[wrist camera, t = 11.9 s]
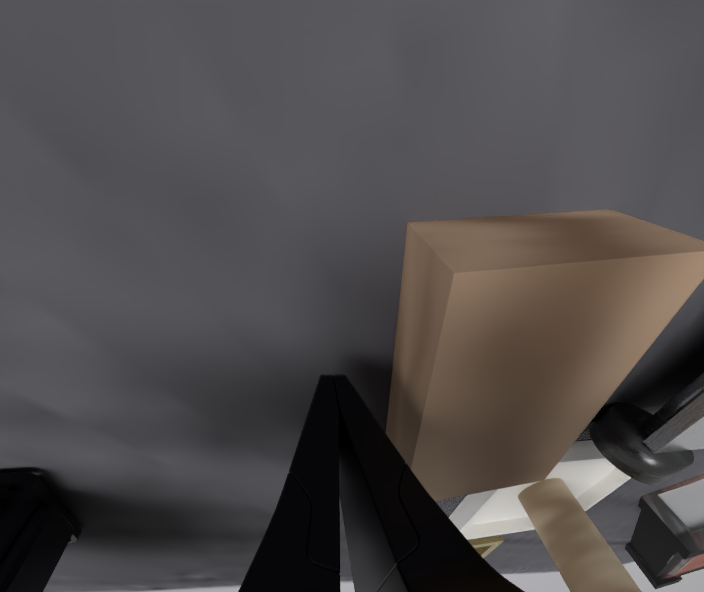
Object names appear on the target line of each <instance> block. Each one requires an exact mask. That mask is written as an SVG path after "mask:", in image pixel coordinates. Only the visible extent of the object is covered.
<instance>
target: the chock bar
mask: <svg viewBox="0 0 704 592" xmlns="http://www.w3.org/2000/svg"><path fill="white" fill-rule="evenodd" d="M703 279H704V241H702V240H699V239H696V238H693V237H690V236H687V235H684V234H681V233H678V232H675V231H672V230H670V229H667V228H664V227H661V226H658V225H655V224H652V223H649V222H646V221H643V220H640V219H637V218H634V217H631V216H628V215H625V214H622V213H620V212H617V211H614V210H611V209H608V210H593V211H577V212H562V213H546V214H531V215H516V216H500V217H485V218H469V219H454V220H438V221H423V222H408V223H407V232H406V242H405V252H404V261H403V271H402V281H401V291H400V300H399V310H398V320H397V329H396V339H395V349H394V358H393V368H392V378H391V388H390V397H389V407H388V417H387V426H386V434H387V436H388V437H389V439H390V440H391V441H392V443H393V444H394V446H395V447H396V449H397V450H398V452H399V453H400V454H401V456H402V457H403V459H404V460H405V464H408V466H409V467H410V469H411V470H412V472H413V473H414V474H415V476H416V477H417V479H418V480H419V481H420V483H421V484H422V485H423V487H424V488H425V489H426V491H427V492H428V493H429V495H430V496H431V497H432V498H433V499H434V501H439V500H444V499H449V498H455V497H460V496H465V495H470V494H475V493H481V492H486V491H491V490H496V489H501V488H507V487H512V486H517V485H522V484H527V483H533V482H538V481H543V480H545V479H546V477H547V476H548V475H549V473H550V472H551V471H552V470H553V468H554V467H555V466H556V465H557V463H558V462H559V461H560V460H561V458H562V457H563V456H564V454H565V453H566V452H567V451H568V449H569V448H570V447H571V446H572V444H573V443H574V442H575V441H576V439H577V438H578V437H579V436H580V434H581V433H582V432H583V430H584V429H585V428H586V427H587V425H588V424H589V423H590V422H591V420H592V419H593V418H594V417H595V415H596V414H597V413H598V411H599V410H600V409H601V408H602V406H603V405H604V404H605V403H606V401H607V400H608V399H609V398H610V396H611V395H612V394H613V392H614V391H615V390H616V389H617V387H618V386H619V385H620V384H621V382H622V381H623V380H624V379H625V377H626V376H627V375H628V374H629V372H630V371H631V370H632V368H633V367H634V366H635V365H636V363H637V362H638V361H639V360H640V358H641V357H642V356H643V355H644V353H645V352H646V351H647V349H648V348H649V347H650V346H651V344H652V343H653V342H654V341H655V339H656V338H657V337H658V336H659V334H660V333H661V332H662V330H663V329H664V328H665V327H666V325H667V324H668V323H669V322H670V320H671V319H672V318H673V317H674V315H675V314H676V313H677V312H678V310H679V309H680V308H681V306H682V305H683V304H684V303H685V301H686V300H687V299H688V298H689V296H690V295H691V294H692V293H693V291H694V290H695V289H696V287H697V286H698V285H699V284H700V282H701V281H702V280H703Z"/></svg>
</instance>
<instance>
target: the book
mask: <svg viewBox="0 0 704 592" xmlns="http://www.w3.org/2000/svg"><path fill="white" fill-rule="evenodd" d="M638 506H639V507H640V508H641V509H642V510H641V513H640V516H639V518H638V521H637V524H636V527H635V530H634V533H633V536H632V539H631V542H630V543H627V544H626V547H625V549H626V550H627V551H628V553H629V554H630V555H631V557H632V558H633V560H634V561H635V562H636V564H637V565H638V566H639V568H640V569H641V570H642V572H643V573H644V574H645V576H646V577H647V578H648V580H649V581H650V583H651V584H652V585H653V587H654V588H655V589H657V588H661V587H664V586H667V585H670V584H674V583H677V582H679V581H680V580H682V578H681V575H684V574H687V573H690V572H694V571H697V570H700V569H704V474H703V475H700V476H697V477H694V478H691V479H689V480H686V481H683V482H680V483H677V484H675V485H672V486H669V487H666V488H663V489H661V490H658V491H655V492H652V493H649V494H647V495H644V496H641V498H640V502H639V505H638Z"/></svg>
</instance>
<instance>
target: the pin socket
mask: <svg viewBox="0 0 704 592" xmlns="http://www.w3.org/2000/svg"><path fill="white" fill-rule="evenodd" d="M468 541H469V542H470V544H471V545H472V546H473V547H474V548H475V550H476V551H477V552H478V553H479V554H480V555H481V556H482V558H484V557H485V556H487V555H488V554H489V553H490V552H491V551H492V550H494V549H495V548H496V547H497V546H498V545H500V544H501V543H502V542H503V541H504V539H503V537H502V535H495V536H489V537H482V538H476V539H469V540H468Z"/></svg>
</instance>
